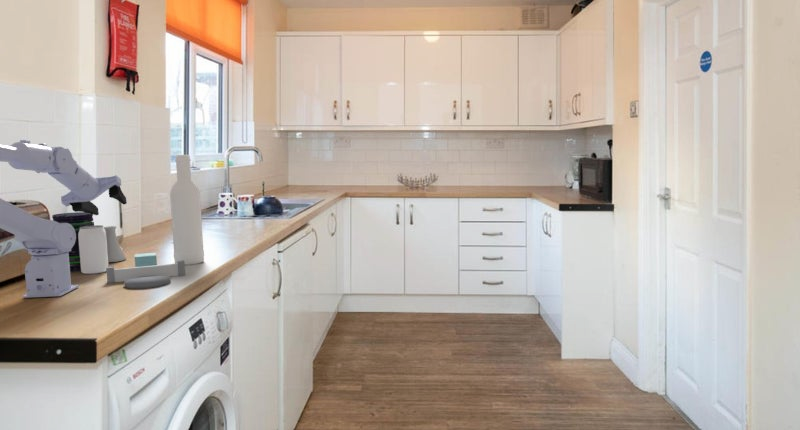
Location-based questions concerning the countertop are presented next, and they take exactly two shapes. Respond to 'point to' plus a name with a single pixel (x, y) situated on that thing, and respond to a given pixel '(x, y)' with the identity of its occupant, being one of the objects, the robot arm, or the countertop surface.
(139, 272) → the acrylic wall
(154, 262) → the block
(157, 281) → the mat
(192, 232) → the bottle
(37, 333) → the countertop surface
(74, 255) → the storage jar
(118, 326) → the countertop surface
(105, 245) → the can
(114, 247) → the flask
